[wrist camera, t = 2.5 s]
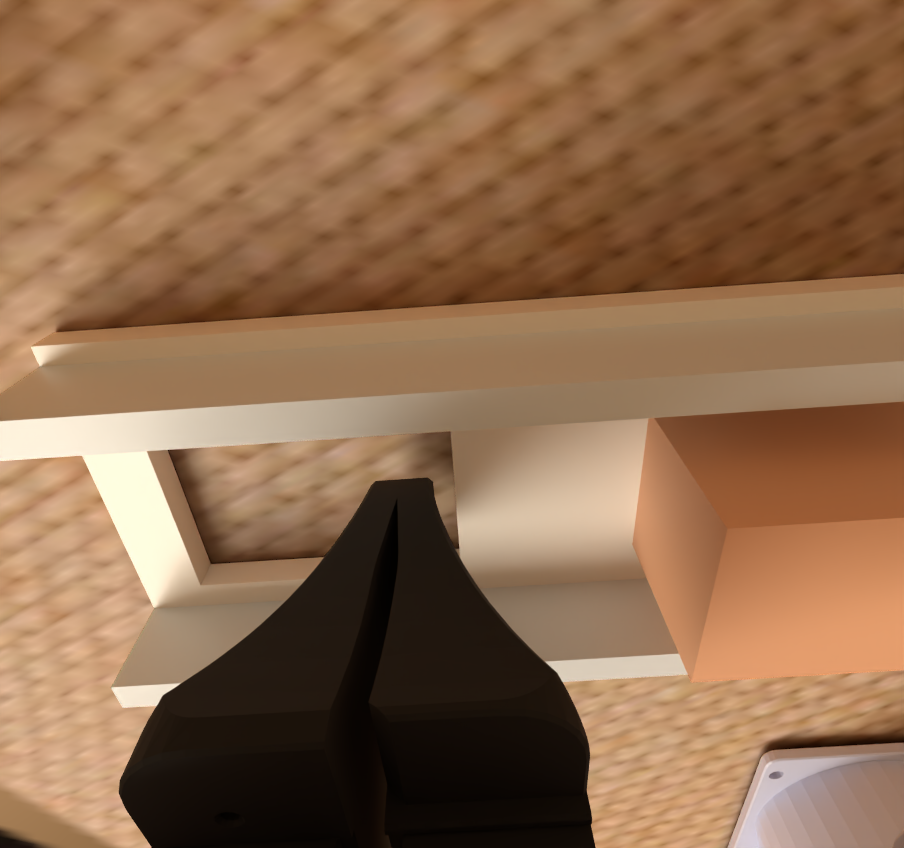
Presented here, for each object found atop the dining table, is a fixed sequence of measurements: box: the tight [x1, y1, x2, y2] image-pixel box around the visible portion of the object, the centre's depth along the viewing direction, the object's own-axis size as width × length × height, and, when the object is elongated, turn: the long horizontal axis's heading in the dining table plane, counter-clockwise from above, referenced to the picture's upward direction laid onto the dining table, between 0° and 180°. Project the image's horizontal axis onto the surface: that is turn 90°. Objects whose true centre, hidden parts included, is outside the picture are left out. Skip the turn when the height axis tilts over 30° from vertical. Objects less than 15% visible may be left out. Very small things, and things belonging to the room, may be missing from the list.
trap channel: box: [0, 274, 904, 708], centre depth 13 cm, size 9×25×3 cm, turn 94°
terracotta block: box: [632, 402, 904, 682], centre depth 12 cm, size 4×6×4 cm, turn 94°
